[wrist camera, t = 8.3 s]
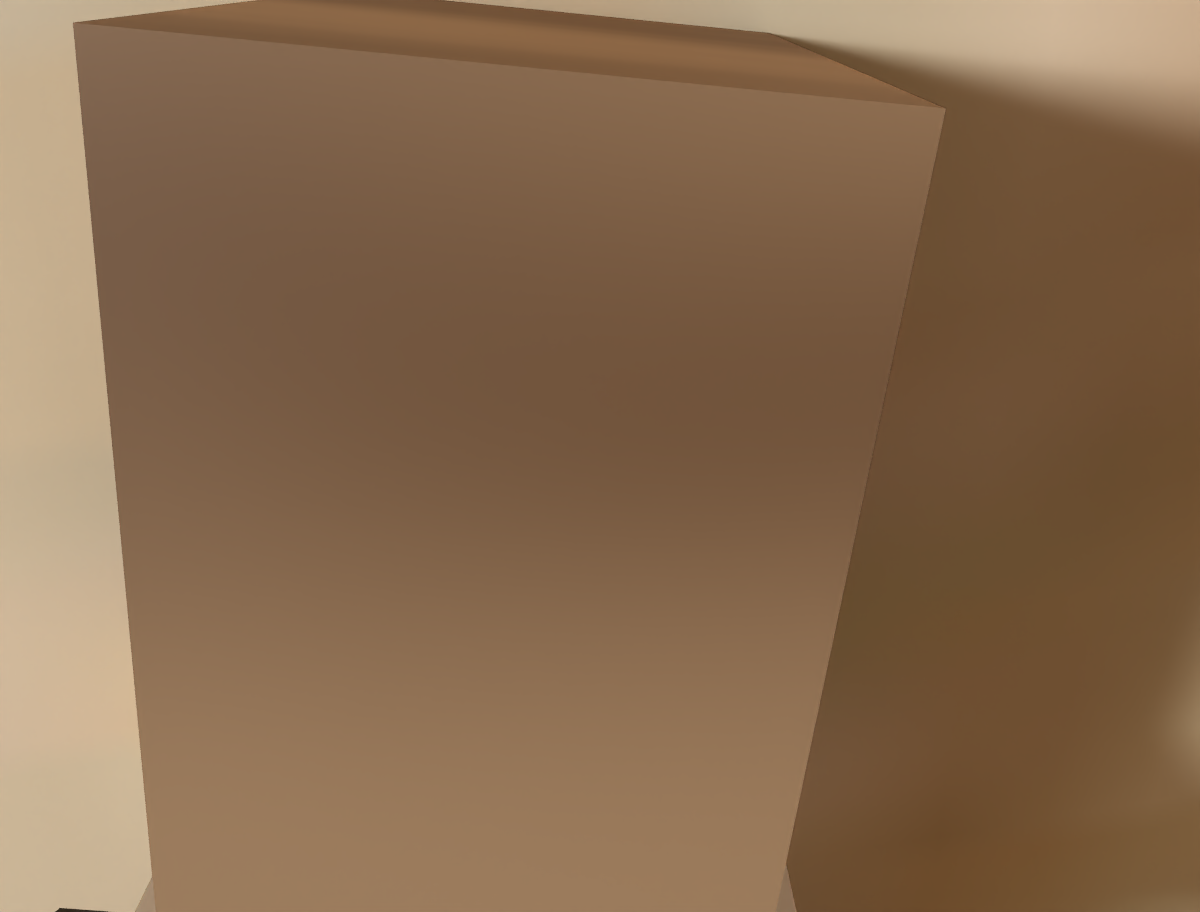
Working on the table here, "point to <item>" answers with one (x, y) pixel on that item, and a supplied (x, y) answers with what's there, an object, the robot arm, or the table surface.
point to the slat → (486, 440)
